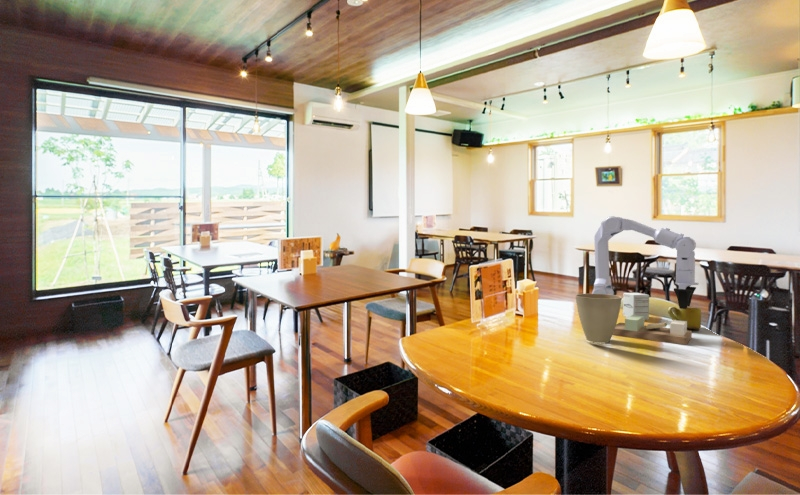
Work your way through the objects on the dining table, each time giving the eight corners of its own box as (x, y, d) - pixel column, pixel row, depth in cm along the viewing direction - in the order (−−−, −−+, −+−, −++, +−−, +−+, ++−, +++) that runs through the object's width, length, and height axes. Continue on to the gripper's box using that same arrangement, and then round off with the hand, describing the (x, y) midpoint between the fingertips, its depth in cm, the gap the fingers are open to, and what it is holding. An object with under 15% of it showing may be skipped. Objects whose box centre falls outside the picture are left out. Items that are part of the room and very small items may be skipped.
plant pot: (620, 338, 156) (620, 294, 156) (622, 347, 143) (622, 299, 142) (575, 334, 162) (576, 292, 162) (573, 342, 149) (574, 297, 148)
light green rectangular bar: (624, 329, 159) (625, 319, 159) (632, 324, 168) (632, 314, 168) (636, 331, 156) (637, 320, 156) (644, 326, 165) (644, 315, 165)
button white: (670, 334, 151) (670, 323, 151) (673, 330, 157) (673, 319, 157) (683, 336, 149) (683, 324, 149) (686, 332, 155) (687, 321, 155)
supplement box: (622, 321, 188) (622, 292, 188) (637, 321, 189) (638, 292, 189) (633, 324, 181) (633, 294, 181) (649, 324, 182) (649, 294, 182)
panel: (610, 334, 162) (610, 323, 162) (619, 328, 173) (619, 318, 173) (686, 344, 147) (686, 332, 146) (691, 337, 157) (691, 326, 157)
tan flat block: (646, 329, 158) (645, 326, 158) (649, 326, 162) (648, 324, 162) (664, 327, 154) (664, 324, 155) (667, 324, 158) (666, 322, 158)
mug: (692, 328, 173) (692, 304, 173) (707, 334, 163) (708, 308, 163) (660, 328, 175) (660, 303, 174) (673, 333, 164) (674, 307, 164)
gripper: (696, 271, 148) (695, 311, 149) (701, 269, 159) (700, 306, 160) (672, 270, 153) (671, 308, 153) (678, 268, 164) (677, 304, 164)
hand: (684, 307), depth 157 cm, fingers open, 7 cm apart
